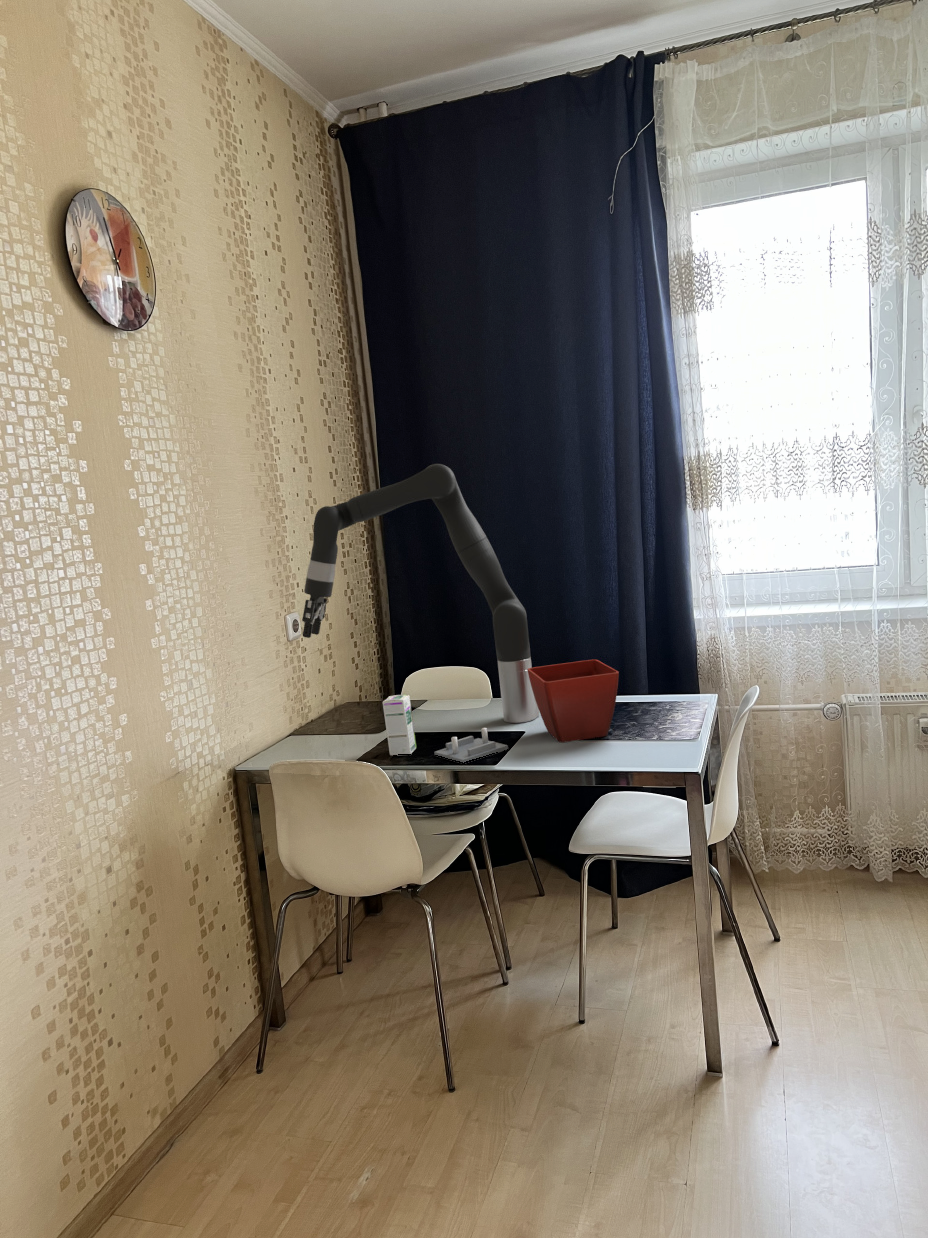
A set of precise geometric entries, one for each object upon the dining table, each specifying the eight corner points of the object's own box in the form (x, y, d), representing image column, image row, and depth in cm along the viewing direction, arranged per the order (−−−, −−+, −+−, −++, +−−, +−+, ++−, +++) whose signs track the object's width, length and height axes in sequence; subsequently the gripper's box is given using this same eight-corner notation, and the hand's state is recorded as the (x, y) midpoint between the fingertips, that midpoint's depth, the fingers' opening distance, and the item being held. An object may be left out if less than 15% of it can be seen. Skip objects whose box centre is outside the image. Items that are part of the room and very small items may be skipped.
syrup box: (411, 755, 229) (404, 699, 227) (388, 756, 231) (382, 700, 229) (416, 748, 235) (410, 693, 233) (395, 749, 236) (388, 695, 234)
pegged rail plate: (478, 741, 235) (476, 723, 234) (508, 749, 225) (506, 729, 224) (434, 755, 227) (432, 736, 226) (463, 764, 217) (461, 743, 216)
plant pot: (625, 737, 224) (620, 671, 222) (551, 749, 222) (544, 681, 219) (601, 720, 243) (596, 658, 241) (532, 730, 240) (526, 668, 238)
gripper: (326, 582, 243) (317, 641, 245) (339, 579, 257) (330, 635, 259) (299, 576, 243) (290, 635, 245) (314, 574, 258) (304, 630, 259)
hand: (310, 635), depth 252 cm, fingers open, 8 cm apart
